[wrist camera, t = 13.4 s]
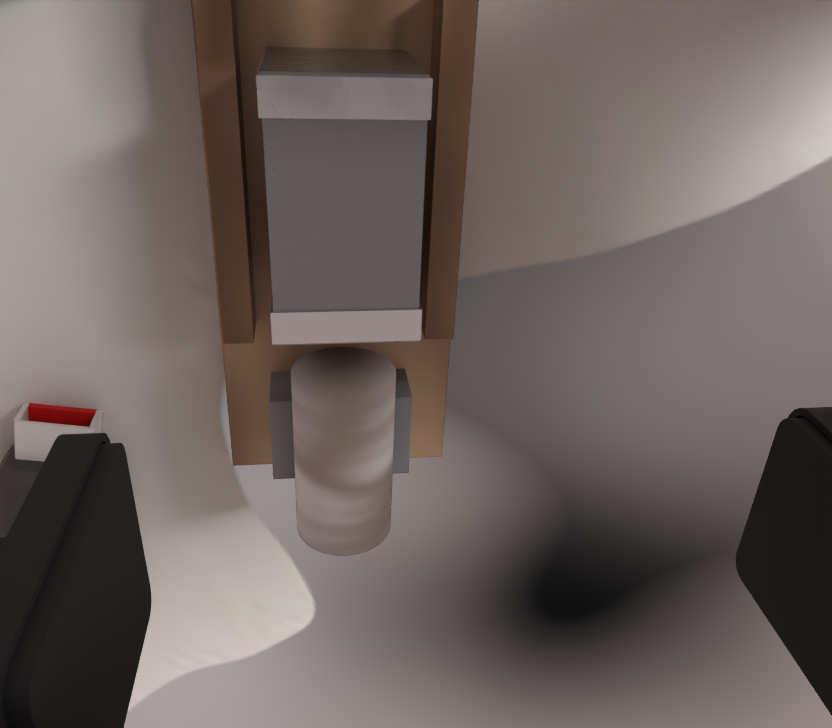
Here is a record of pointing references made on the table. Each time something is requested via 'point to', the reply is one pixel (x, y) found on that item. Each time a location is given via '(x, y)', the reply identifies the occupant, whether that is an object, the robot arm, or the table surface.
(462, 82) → the coupling rig
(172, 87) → the table surface
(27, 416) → the usb drive
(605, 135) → the table surface
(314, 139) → the block
